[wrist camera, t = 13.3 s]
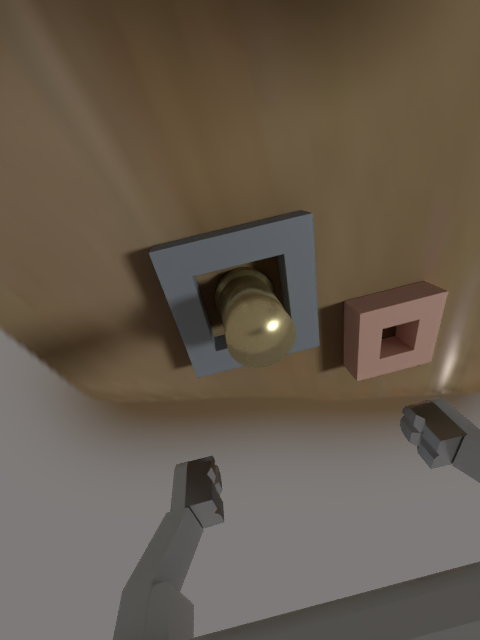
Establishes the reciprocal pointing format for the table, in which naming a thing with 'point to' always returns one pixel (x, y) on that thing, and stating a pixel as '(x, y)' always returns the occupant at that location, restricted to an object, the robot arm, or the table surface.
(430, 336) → the small socket
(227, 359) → the socket block
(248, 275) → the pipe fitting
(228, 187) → the table surface
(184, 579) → the robot arm
